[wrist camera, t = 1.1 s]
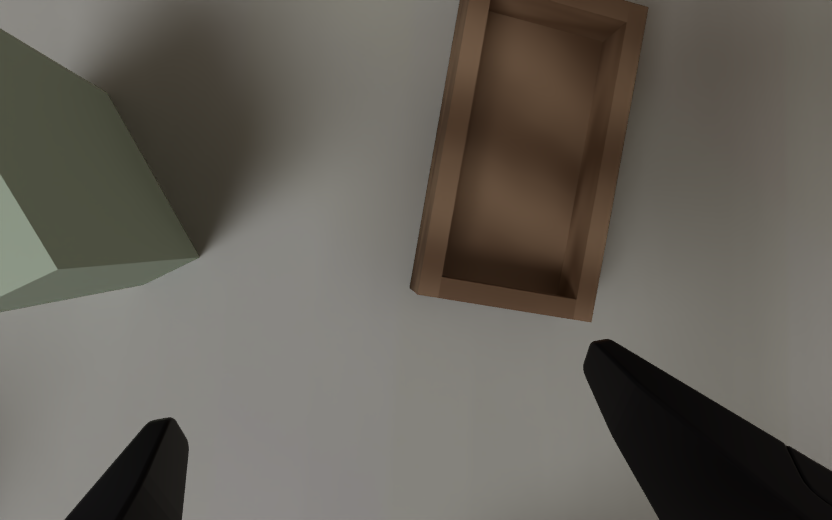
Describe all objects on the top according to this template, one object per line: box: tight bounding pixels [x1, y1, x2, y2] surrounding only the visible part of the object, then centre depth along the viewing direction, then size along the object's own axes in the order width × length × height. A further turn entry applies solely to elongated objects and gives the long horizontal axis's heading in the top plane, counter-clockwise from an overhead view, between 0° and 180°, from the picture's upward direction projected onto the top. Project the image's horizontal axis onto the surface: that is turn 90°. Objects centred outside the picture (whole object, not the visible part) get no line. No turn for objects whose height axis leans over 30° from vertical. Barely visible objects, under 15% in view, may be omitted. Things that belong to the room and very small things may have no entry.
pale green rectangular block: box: [0, 29, 199, 312], centre depth 15 cm, size 9×3×10 cm, turn 27°
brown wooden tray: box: [410, 0, 648, 322], centre depth 21 cm, size 16×9×3 cm, turn 170°
